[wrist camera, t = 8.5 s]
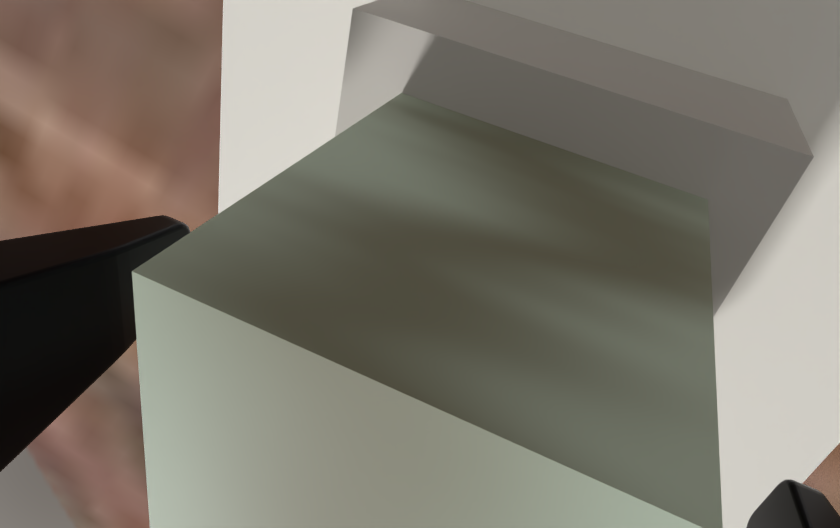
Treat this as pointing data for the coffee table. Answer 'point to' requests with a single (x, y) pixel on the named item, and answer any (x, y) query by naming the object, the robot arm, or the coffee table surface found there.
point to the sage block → (434, 342)
